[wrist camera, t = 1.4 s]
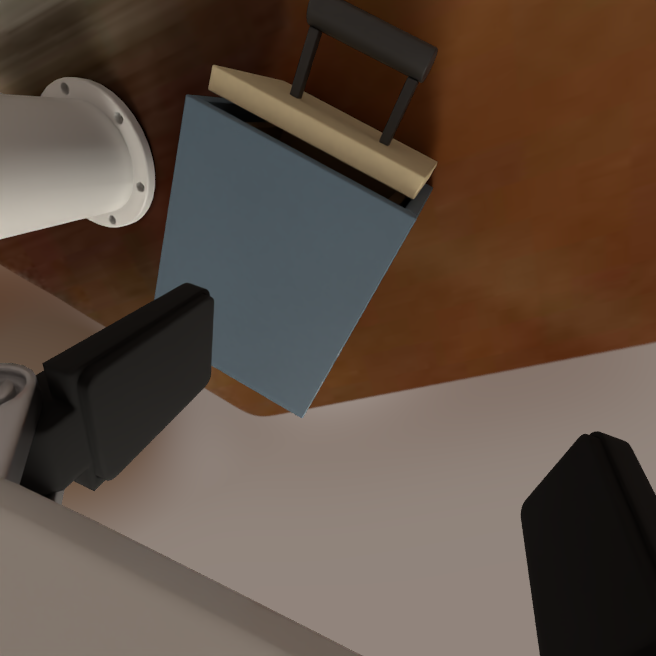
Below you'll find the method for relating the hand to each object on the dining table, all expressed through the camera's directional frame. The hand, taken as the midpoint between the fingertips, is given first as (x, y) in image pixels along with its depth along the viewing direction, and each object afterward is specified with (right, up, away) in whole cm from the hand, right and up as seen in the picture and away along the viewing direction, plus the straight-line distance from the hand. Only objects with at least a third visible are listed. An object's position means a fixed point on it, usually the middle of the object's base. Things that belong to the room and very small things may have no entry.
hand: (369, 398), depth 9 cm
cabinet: (-2, +9, +23) cm, 25 cm away
